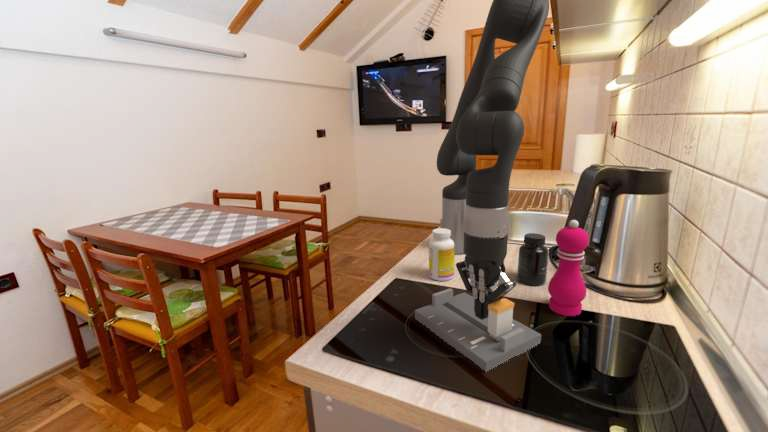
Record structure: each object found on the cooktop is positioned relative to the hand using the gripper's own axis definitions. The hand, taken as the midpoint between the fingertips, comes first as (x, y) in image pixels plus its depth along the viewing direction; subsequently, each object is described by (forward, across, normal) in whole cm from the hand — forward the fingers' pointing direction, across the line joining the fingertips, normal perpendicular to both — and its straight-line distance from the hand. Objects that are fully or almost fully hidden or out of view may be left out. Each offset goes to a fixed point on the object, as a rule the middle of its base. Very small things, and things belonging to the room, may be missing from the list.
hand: (482, 316), depth 67 cm
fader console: (+4, -2, 0) cm, 5 cm away
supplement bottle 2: (+4, -10, +28) cm, 30 cm away
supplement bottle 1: (+4, -25, +11) cm, 28 cm away
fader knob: (+2, +4, 0) cm, 4 cm away
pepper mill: (+4, +3, +22) cm, 23 cm away
